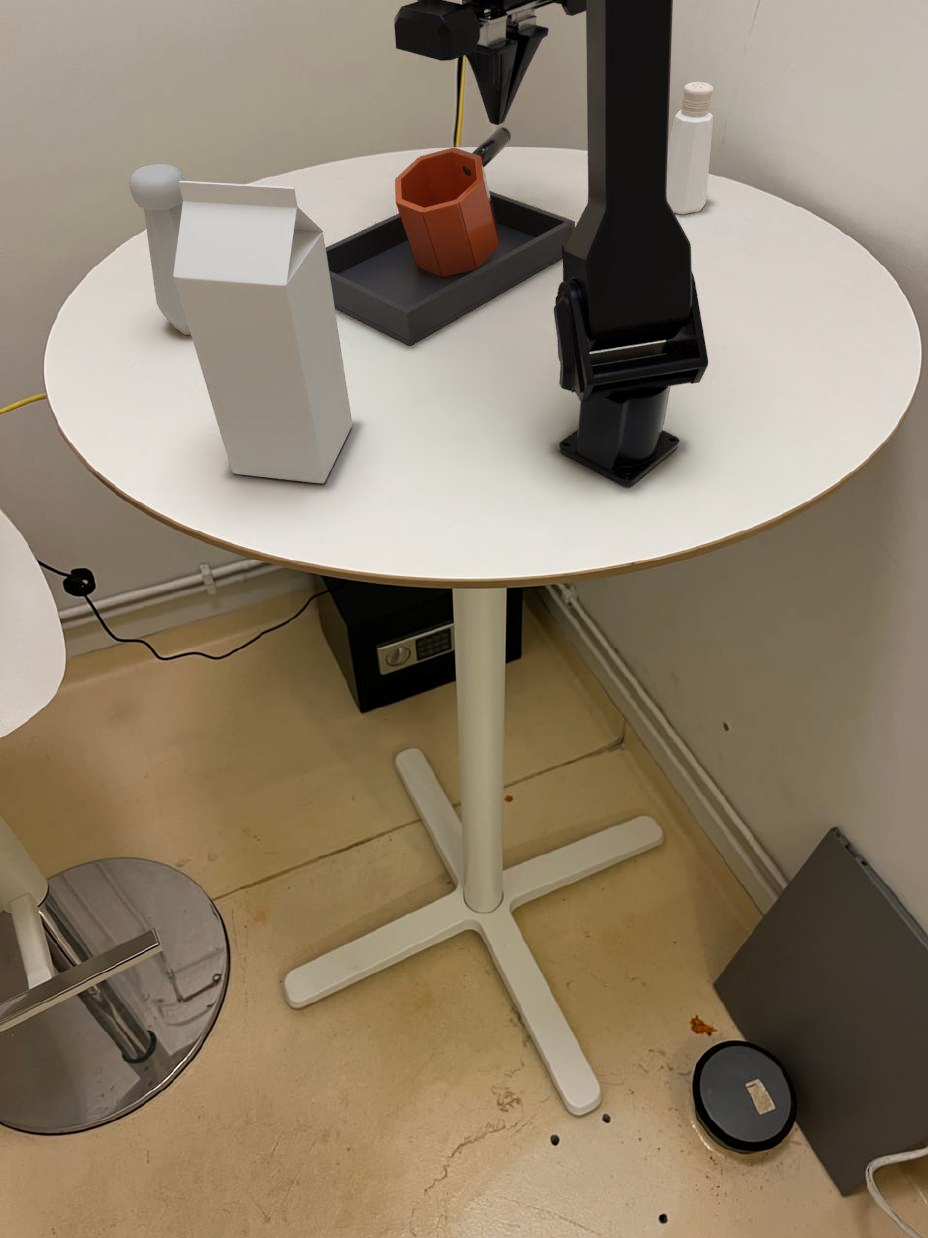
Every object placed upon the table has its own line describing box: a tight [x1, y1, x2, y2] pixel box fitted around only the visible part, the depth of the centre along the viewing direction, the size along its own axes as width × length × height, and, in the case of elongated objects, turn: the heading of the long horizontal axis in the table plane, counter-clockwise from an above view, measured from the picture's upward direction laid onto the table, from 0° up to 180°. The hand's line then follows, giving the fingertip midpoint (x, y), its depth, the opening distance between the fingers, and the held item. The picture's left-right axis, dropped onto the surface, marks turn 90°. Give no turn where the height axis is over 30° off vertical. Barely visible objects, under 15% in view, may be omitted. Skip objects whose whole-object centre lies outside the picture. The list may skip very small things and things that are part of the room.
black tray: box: [325, 190, 576, 346], centre depth 79 cm, size 22×14×3 cm, turn 137°
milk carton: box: [173, 180, 353, 484], centre depth 56 cm, size 7×7×19 cm
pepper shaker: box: [667, 81, 714, 215], centre depth 85 cm, size 5×5×11 cm
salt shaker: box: [128, 163, 191, 336], centre depth 71 cm, size 6×6×13 cm
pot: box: [394, 126, 512, 277], centre depth 78 cm, size 13×8×7 cm, turn 137°
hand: (496, 122), depth 76 cm, fingers closed
